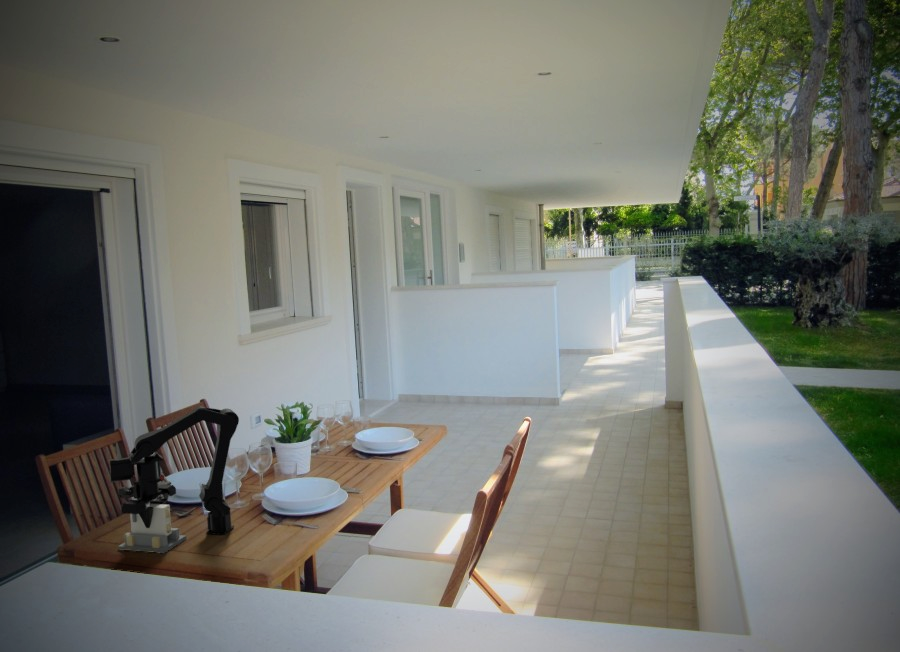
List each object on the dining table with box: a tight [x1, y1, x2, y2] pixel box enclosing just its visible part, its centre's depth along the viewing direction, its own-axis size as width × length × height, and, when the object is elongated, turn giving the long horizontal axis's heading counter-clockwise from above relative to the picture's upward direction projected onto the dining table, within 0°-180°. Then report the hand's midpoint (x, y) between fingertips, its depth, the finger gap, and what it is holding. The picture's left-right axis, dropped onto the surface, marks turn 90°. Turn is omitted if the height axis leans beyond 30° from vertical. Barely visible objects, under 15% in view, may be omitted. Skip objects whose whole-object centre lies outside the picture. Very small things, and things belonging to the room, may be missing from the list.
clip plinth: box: [117, 527, 187, 554], centre depth 215 cm, size 16×11×4 cm
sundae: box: [158, 471, 173, 499], centre depth 243 cm, size 7×7×15 cm
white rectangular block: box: [129, 503, 172, 536], centre depth 214 cm, size 13×4×9 cm, turn 76°
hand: (151, 525), depth 215 cm, fingers closed on white rectangular block, 3 cm apart
